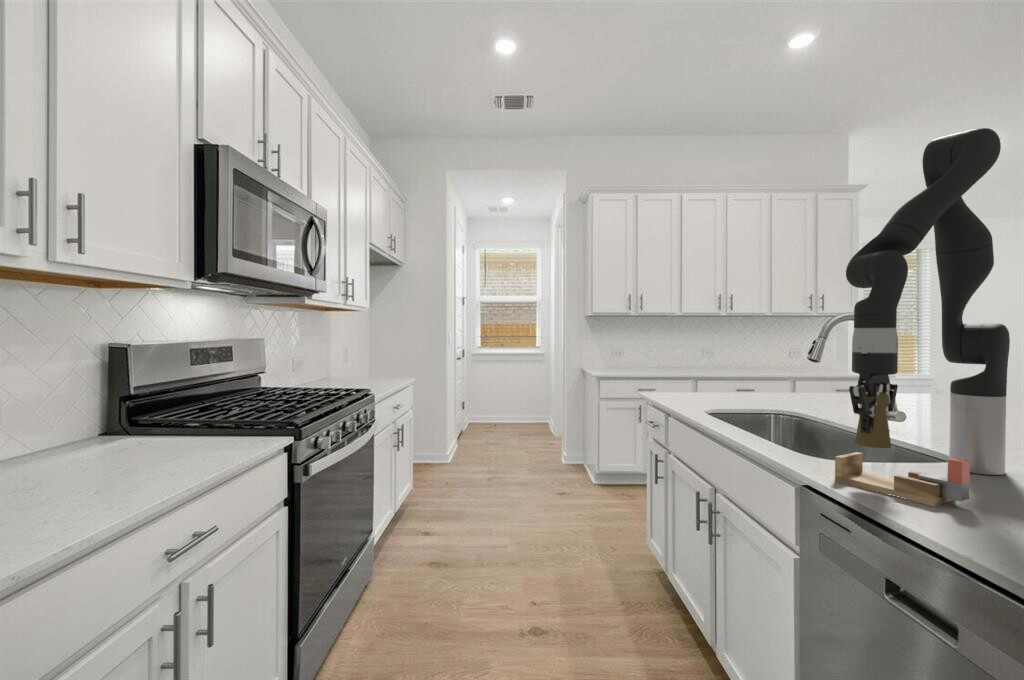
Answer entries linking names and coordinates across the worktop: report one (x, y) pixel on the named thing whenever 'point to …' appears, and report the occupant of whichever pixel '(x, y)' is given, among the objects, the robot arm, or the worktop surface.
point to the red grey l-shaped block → (952, 480)
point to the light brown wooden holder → (887, 481)
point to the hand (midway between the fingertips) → (873, 433)
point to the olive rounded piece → (876, 426)
